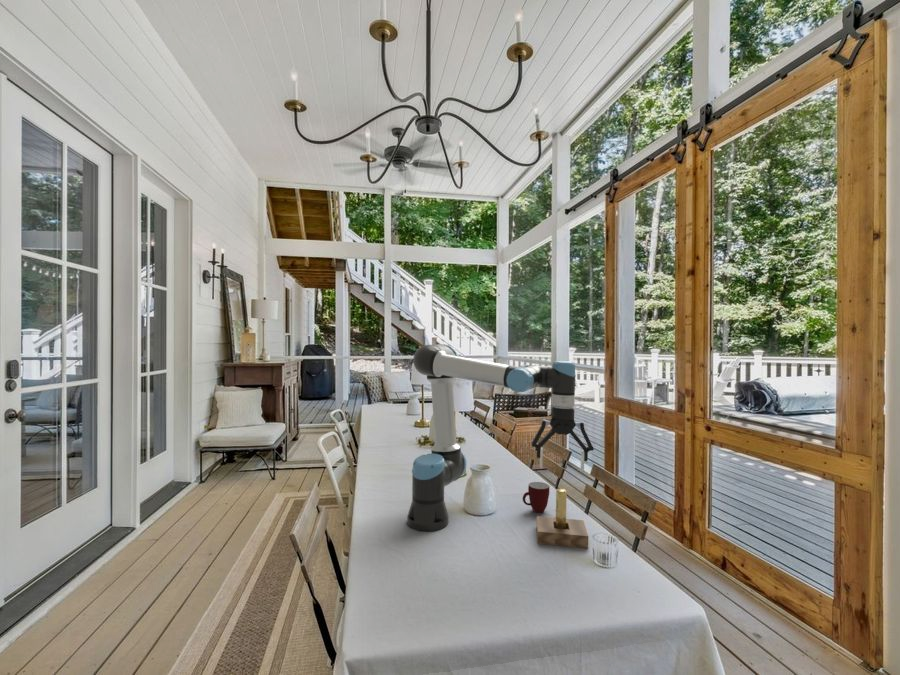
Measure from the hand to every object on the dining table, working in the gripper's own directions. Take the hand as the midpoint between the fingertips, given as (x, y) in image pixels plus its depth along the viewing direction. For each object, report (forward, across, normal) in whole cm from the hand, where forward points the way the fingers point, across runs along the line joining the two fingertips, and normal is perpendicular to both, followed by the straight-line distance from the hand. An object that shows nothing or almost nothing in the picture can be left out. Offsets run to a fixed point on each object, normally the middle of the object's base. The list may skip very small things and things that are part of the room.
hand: (561, 469), depth 143 cm
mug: (+24, -8, +20) cm, 32 cm away
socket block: (+23, 0, 0) cm, 23 cm away
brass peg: (+23, 0, 0) cm, 23 cm away
